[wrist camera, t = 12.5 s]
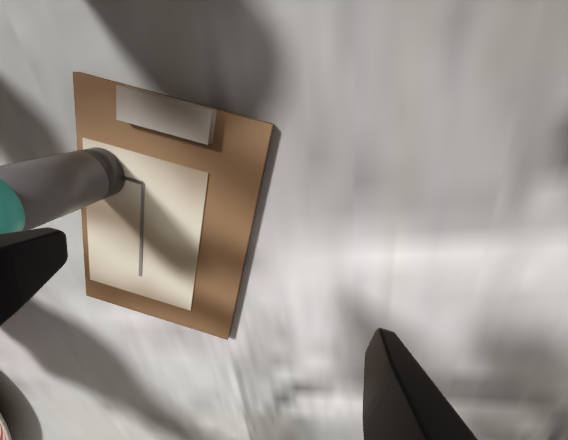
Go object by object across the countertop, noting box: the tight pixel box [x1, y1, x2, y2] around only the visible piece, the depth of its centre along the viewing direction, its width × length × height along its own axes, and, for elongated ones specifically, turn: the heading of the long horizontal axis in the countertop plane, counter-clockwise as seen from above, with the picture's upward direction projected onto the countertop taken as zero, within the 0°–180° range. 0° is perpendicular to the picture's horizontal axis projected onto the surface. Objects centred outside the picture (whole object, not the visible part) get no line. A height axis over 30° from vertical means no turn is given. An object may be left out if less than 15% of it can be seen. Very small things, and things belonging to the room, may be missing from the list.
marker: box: [0, 147, 125, 234], centre depth 17 cm, size 3×3×8 cm
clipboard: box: [73, 72, 274, 340], centre depth 22 cm, size 18×13×1 cm
